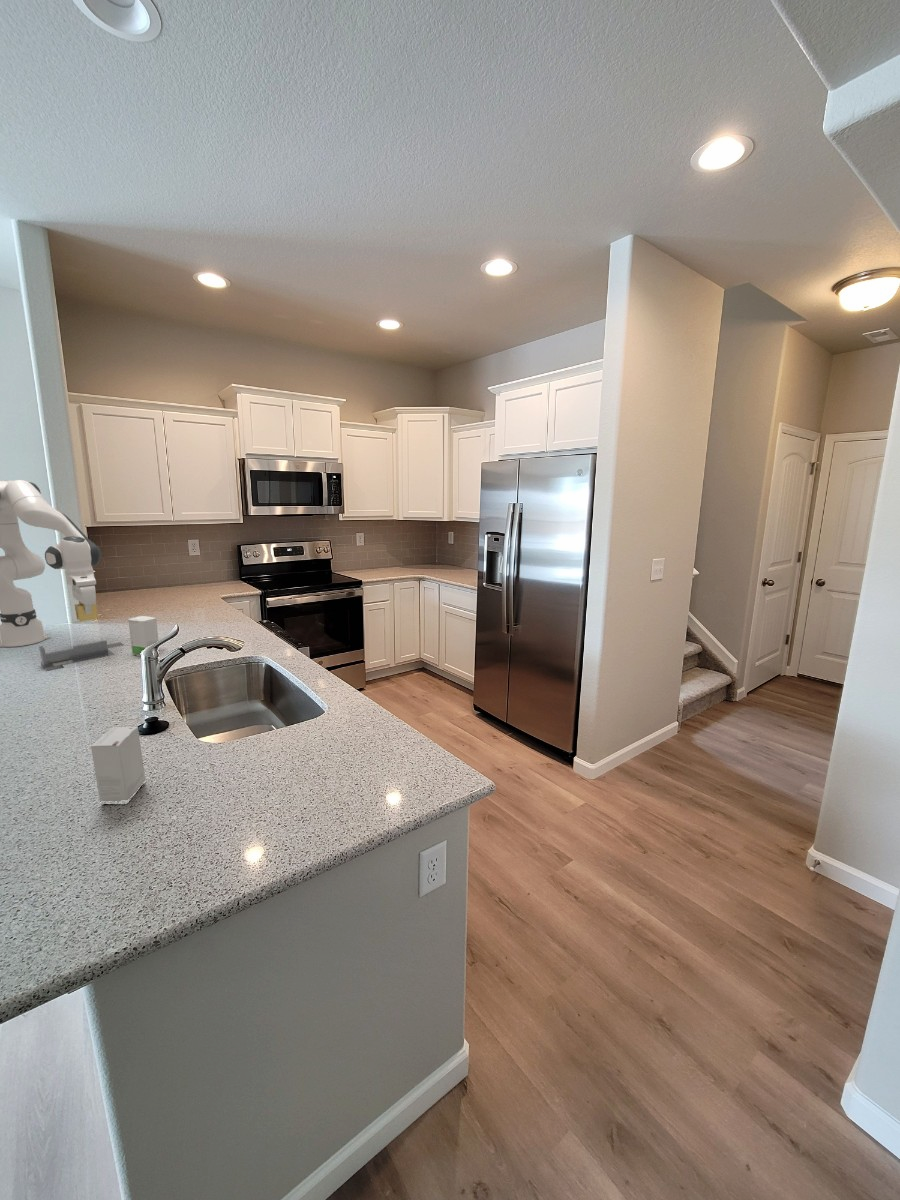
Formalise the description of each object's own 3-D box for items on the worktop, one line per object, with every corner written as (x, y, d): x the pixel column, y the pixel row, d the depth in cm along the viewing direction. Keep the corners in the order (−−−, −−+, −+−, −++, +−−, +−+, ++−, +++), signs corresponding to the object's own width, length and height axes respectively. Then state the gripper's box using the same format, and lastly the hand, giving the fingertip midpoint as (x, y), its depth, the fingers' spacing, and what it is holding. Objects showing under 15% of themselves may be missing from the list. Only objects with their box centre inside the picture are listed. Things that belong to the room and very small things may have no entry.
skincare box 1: (120, 784, 114) (111, 726, 110) (148, 783, 114) (139, 724, 111) (99, 807, 105) (88, 744, 102) (128, 805, 106) (118, 743, 103)
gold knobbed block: (76, 619, 195) (73, 601, 193) (95, 616, 199) (92, 598, 197) (80, 621, 191) (76, 603, 190) (98, 618, 196) (95, 600, 194)
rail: (41, 664, 190) (37, 645, 189) (107, 651, 206) (104, 633, 205) (46, 671, 184) (42, 650, 182) (114, 656, 200) (111, 638, 198)
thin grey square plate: (101, 648, 211) (101, 645, 210) (120, 644, 216) (120, 642, 215) (105, 651, 207) (105, 648, 206) (124, 647, 212) (124, 645, 211)
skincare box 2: (131, 655, 201) (126, 619, 198) (145, 650, 207) (140, 615, 204) (147, 657, 199) (142, 620, 195) (161, 652, 205) (156, 616, 202)
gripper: (64, 576, 196) (70, 609, 199) (76, 582, 183) (82, 618, 186) (83, 574, 201) (89, 607, 204) (97, 580, 187) (102, 615, 190)
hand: (86, 612), depth 195 cm, fingers closed on gold knobbed block, 5 cm apart
